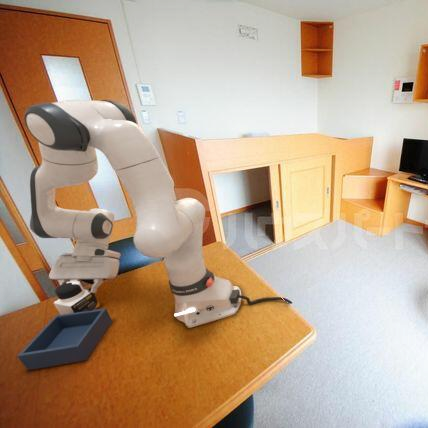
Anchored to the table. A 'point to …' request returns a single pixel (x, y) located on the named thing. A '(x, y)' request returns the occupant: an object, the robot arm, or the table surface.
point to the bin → (66, 339)
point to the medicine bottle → (74, 298)
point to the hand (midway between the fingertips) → (78, 293)
